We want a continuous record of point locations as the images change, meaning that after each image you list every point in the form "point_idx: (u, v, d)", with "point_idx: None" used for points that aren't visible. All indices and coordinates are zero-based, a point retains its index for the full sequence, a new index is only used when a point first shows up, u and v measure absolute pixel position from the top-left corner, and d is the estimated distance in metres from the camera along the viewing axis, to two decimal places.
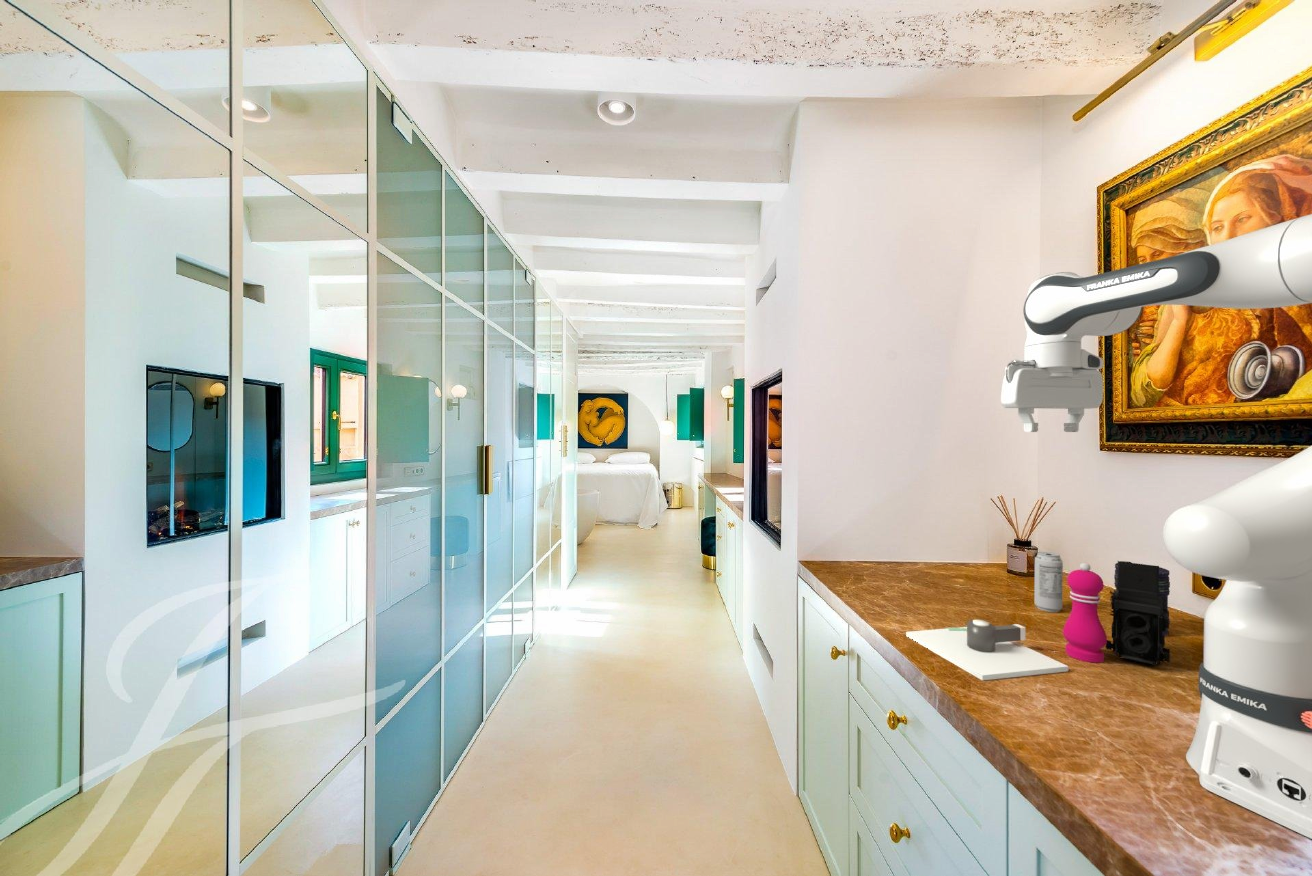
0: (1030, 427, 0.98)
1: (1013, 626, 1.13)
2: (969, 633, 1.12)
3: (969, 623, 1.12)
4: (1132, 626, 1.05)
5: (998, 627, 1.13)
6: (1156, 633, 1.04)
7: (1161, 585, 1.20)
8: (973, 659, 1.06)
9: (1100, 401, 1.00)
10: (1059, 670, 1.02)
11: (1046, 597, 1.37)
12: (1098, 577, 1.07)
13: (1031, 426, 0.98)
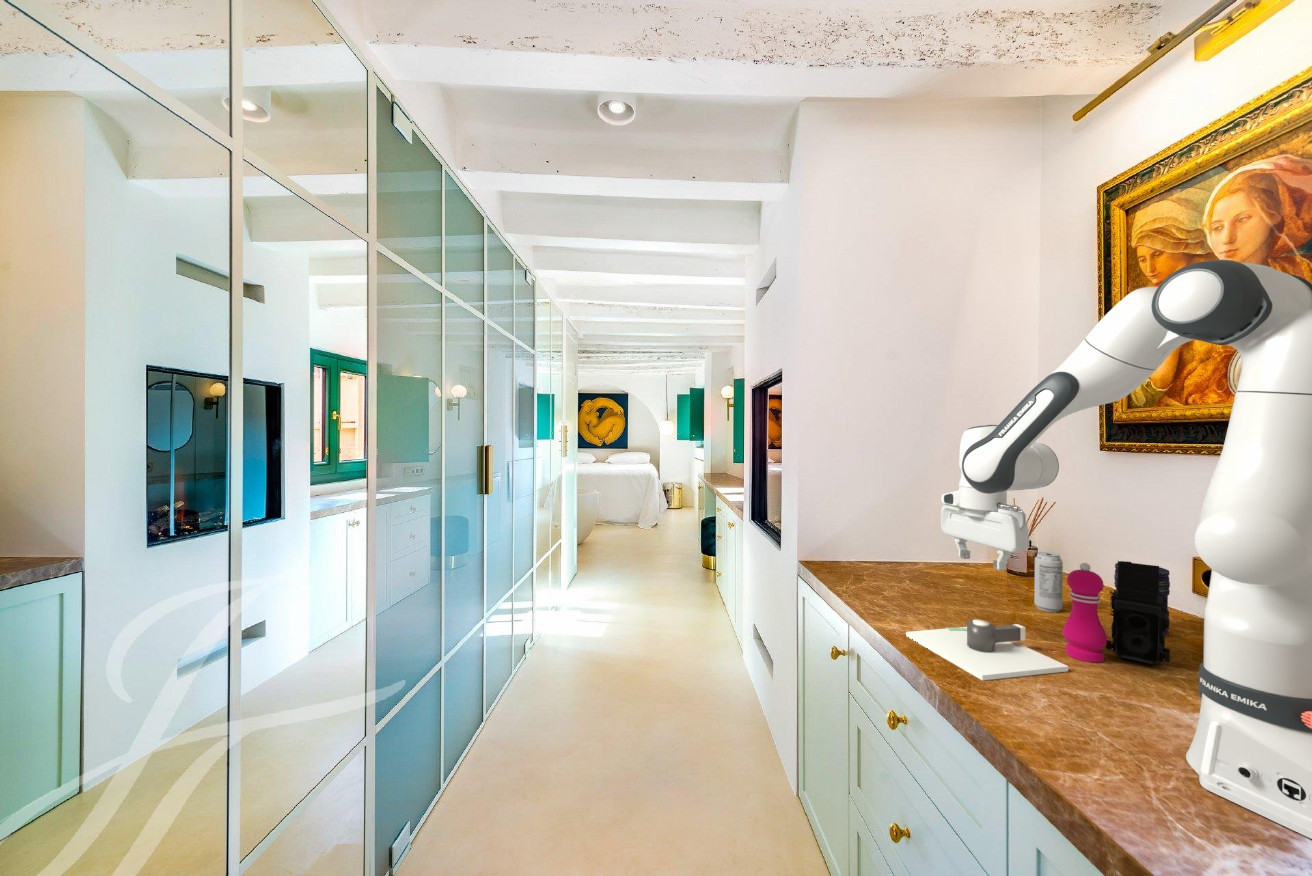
0: (1004, 566, 1.06)
1: (1013, 626, 1.13)
2: (969, 633, 1.12)
3: (969, 623, 1.12)
4: (1132, 626, 1.05)
5: (998, 627, 1.13)
6: (1156, 633, 1.04)
7: (1161, 585, 1.20)
8: (973, 659, 1.06)
9: None
10: (1059, 670, 1.02)
11: (1046, 597, 1.37)
12: (1098, 577, 1.07)
13: (1005, 564, 1.06)
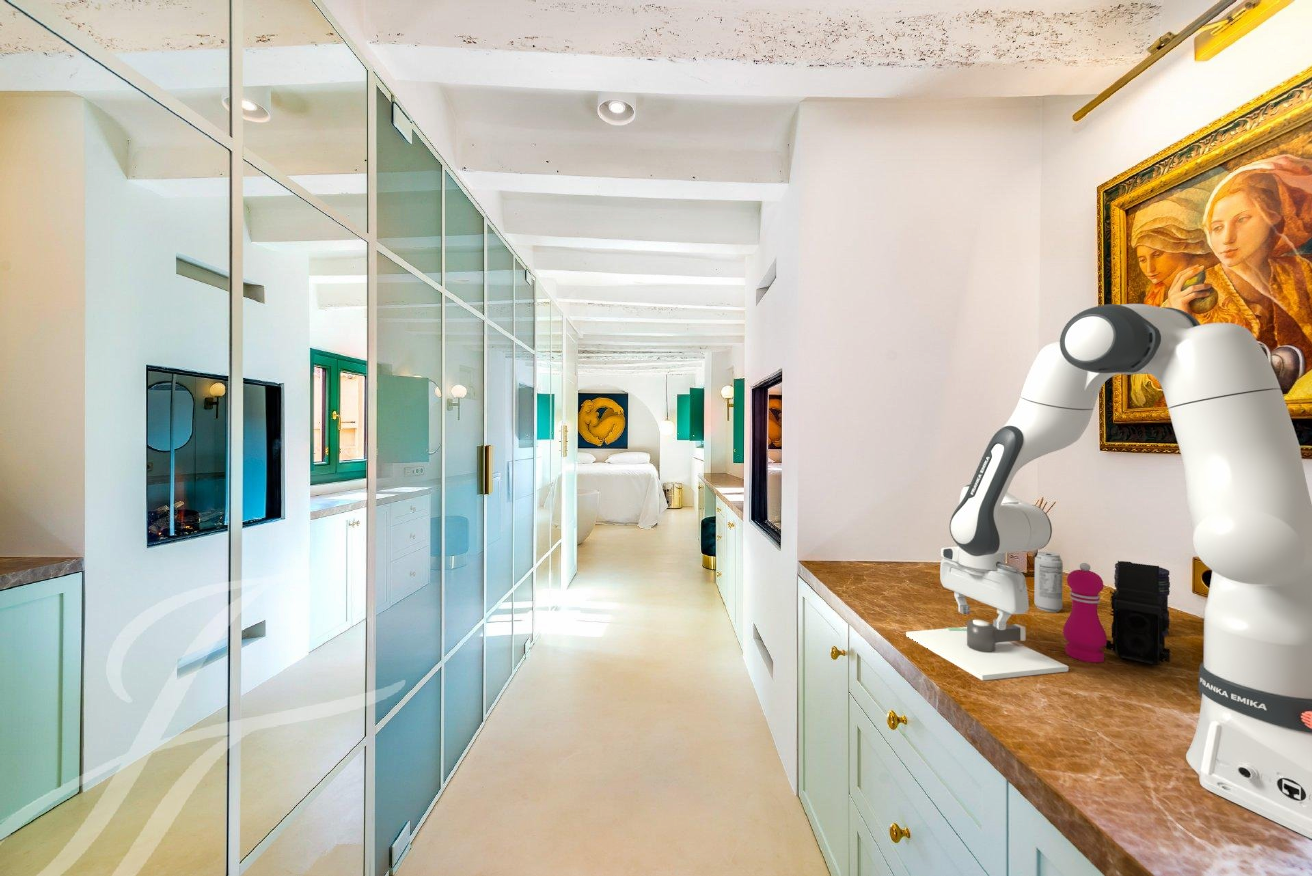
0: (1004, 625, 1.06)
1: (1013, 626, 1.13)
2: (969, 633, 1.12)
3: (969, 623, 1.12)
4: (1132, 626, 1.05)
5: None
6: (1156, 633, 1.04)
7: (1161, 585, 1.20)
8: (973, 659, 1.06)
9: None
10: (1059, 670, 1.02)
11: (1046, 597, 1.37)
12: (1098, 577, 1.07)
13: (1004, 624, 1.06)
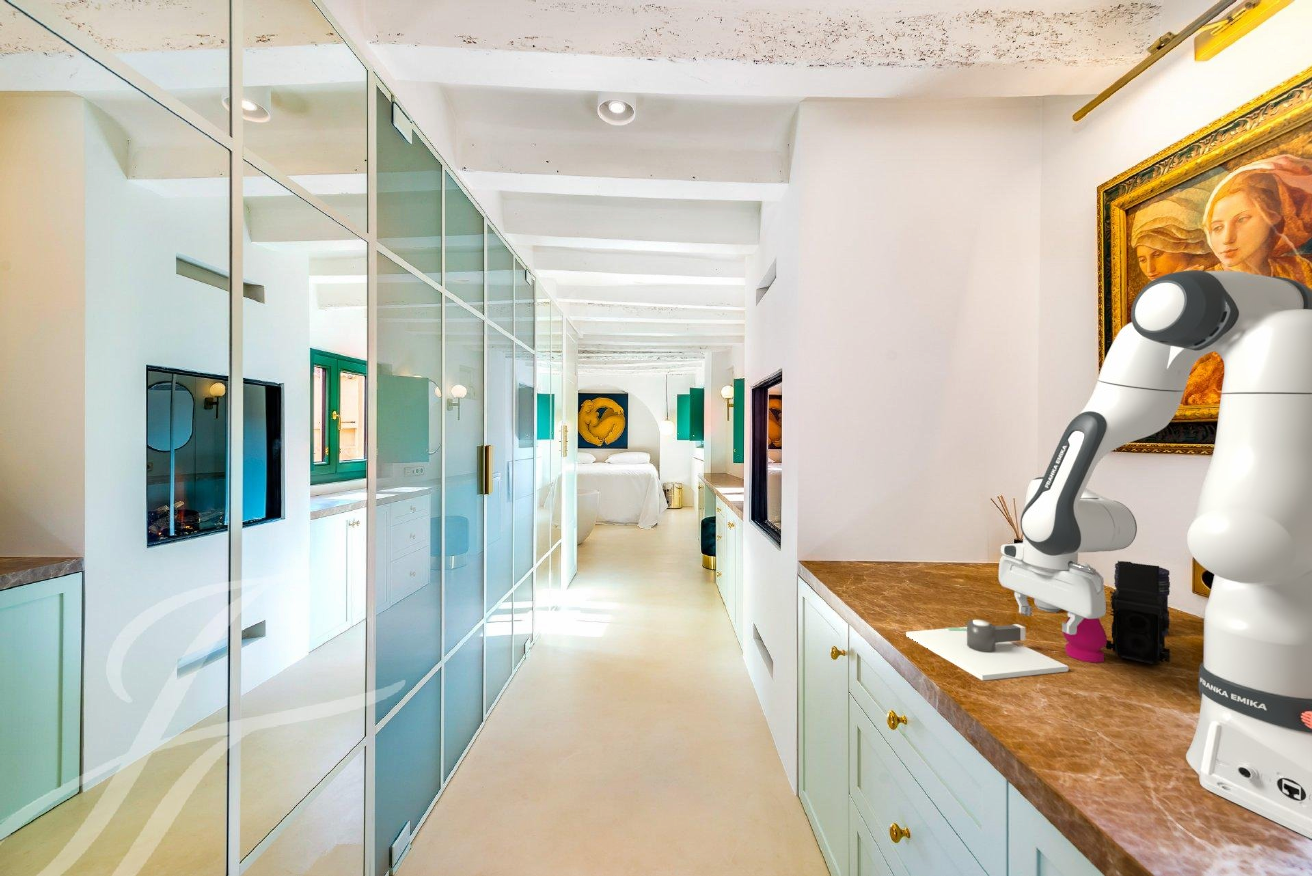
0: (1075, 629, 0.99)
1: (1013, 626, 1.13)
2: (969, 633, 1.12)
3: (969, 623, 1.12)
4: (1132, 626, 1.05)
5: (998, 627, 1.13)
6: (1156, 633, 1.04)
7: (1161, 585, 1.20)
8: (973, 659, 1.06)
9: None
10: (1059, 670, 1.02)
11: None
12: None
13: None
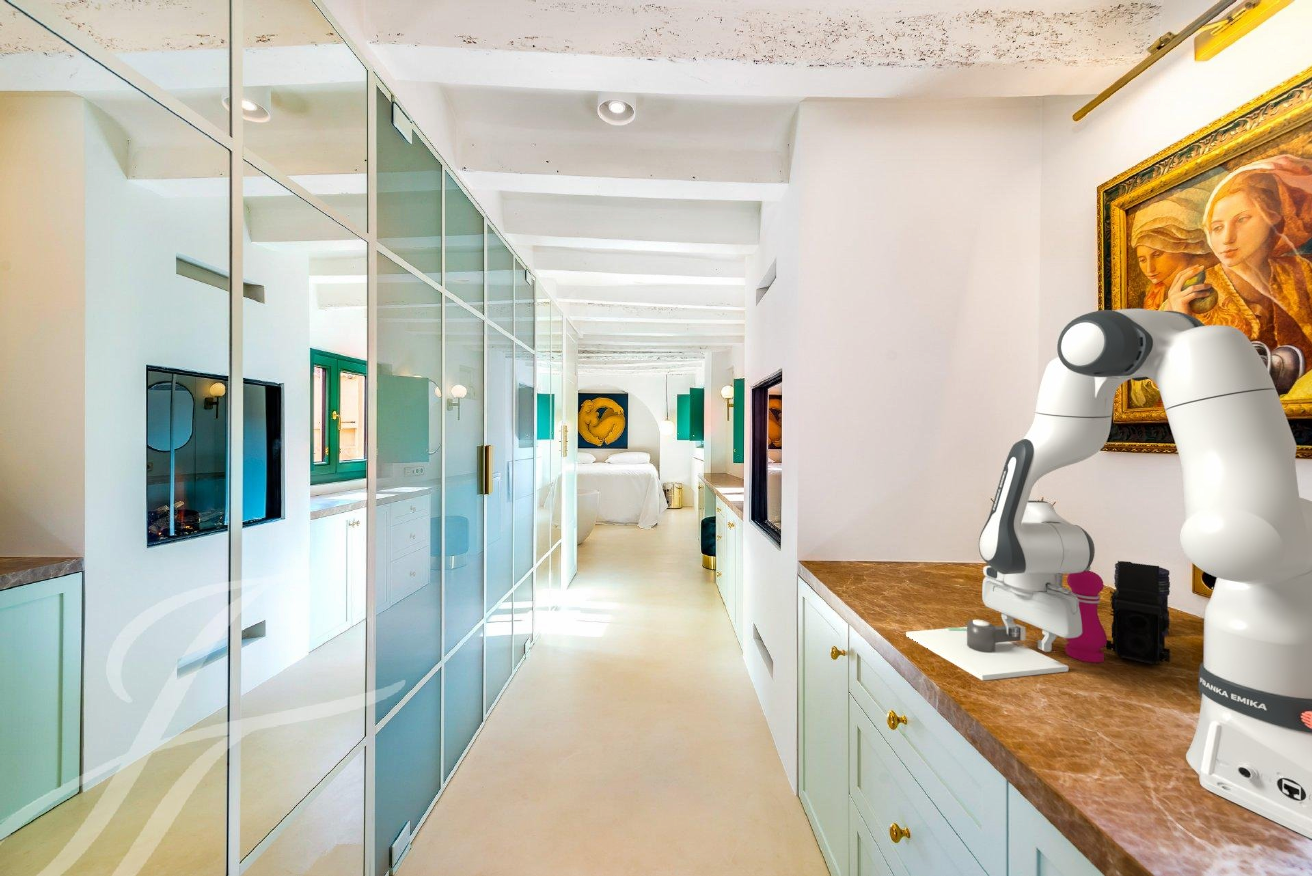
0: (1049, 646, 1.04)
1: None
2: (969, 633, 1.12)
3: (969, 623, 1.12)
4: (1132, 626, 1.05)
5: (998, 627, 1.13)
6: (1156, 633, 1.04)
7: (1161, 585, 1.20)
8: (973, 659, 1.06)
9: None
10: (1059, 670, 1.02)
11: None
12: (1098, 577, 1.07)
13: (1050, 645, 1.04)
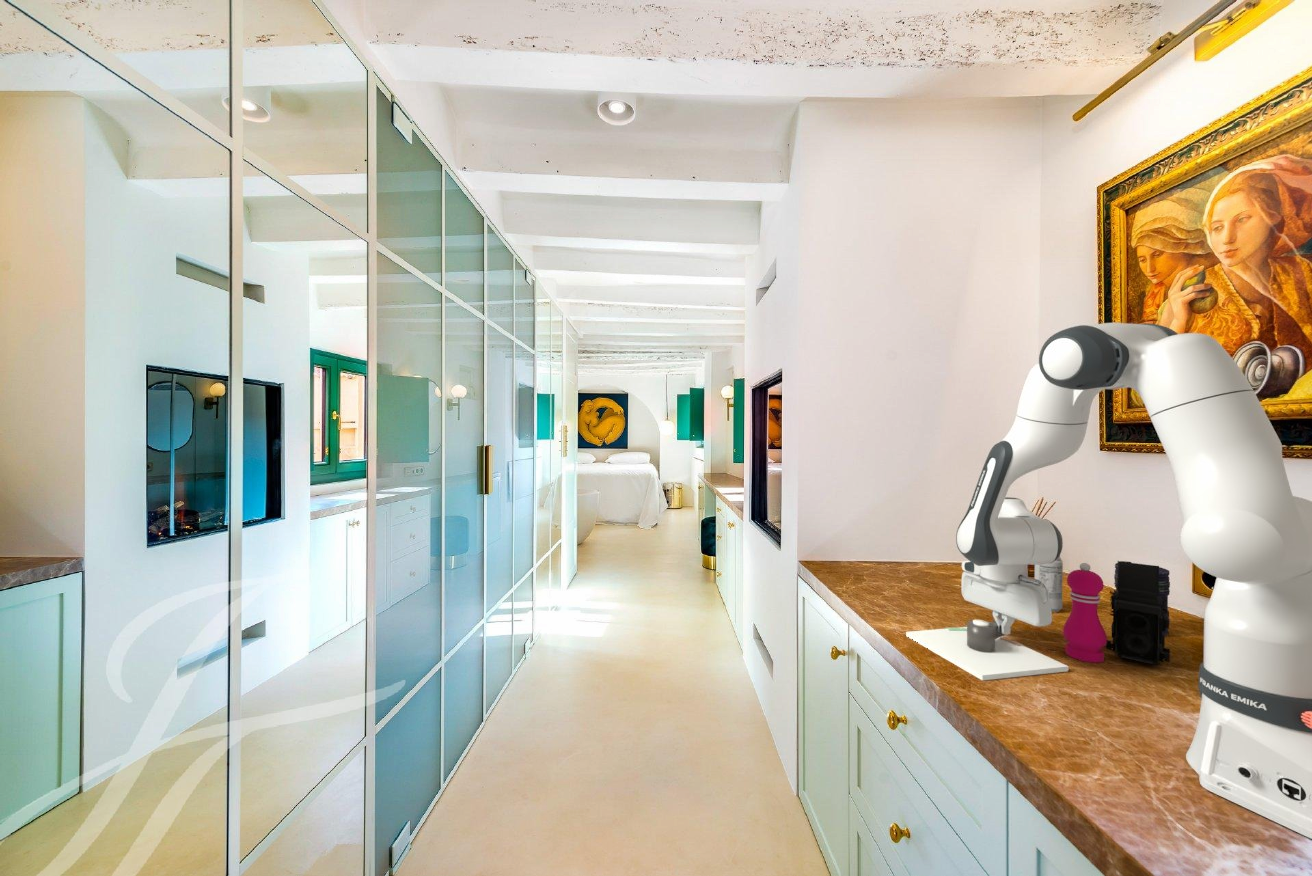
0: (1008, 630, 1.13)
1: None
2: (973, 635, 1.11)
3: (971, 624, 1.12)
4: (1132, 626, 1.05)
5: None
6: (1156, 633, 1.04)
7: (1161, 585, 1.20)
8: (973, 659, 1.06)
9: None
10: (1059, 670, 1.02)
11: None
12: (1098, 577, 1.07)
13: (1009, 629, 1.13)
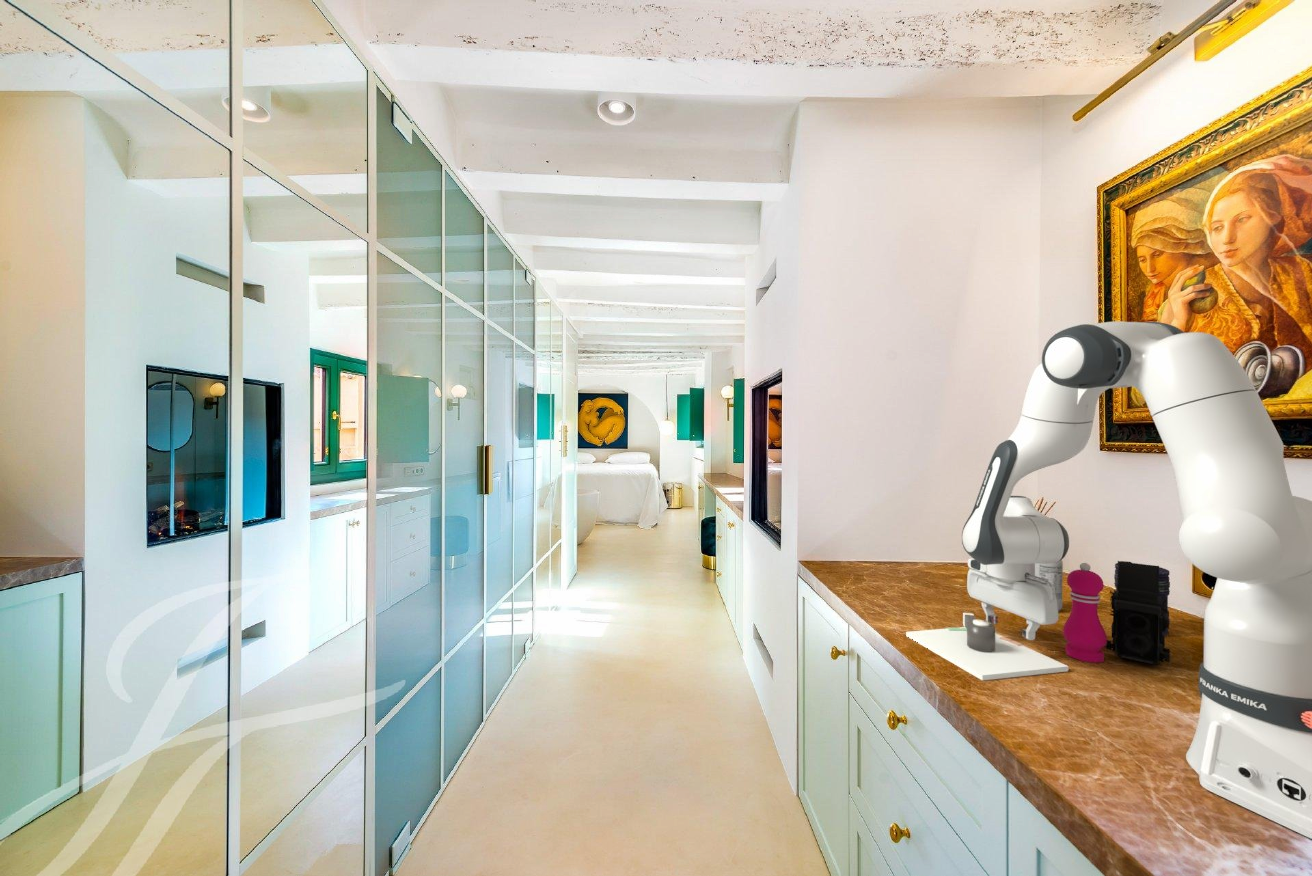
0: (1033, 635, 1.09)
1: (970, 616, 1.20)
2: (982, 637, 1.09)
3: (977, 627, 1.10)
4: (1132, 626, 1.05)
5: None
6: (1156, 633, 1.04)
7: (1161, 585, 1.20)
8: (973, 659, 1.06)
9: None
10: (1059, 670, 1.02)
11: None
12: (1098, 577, 1.07)
13: (1034, 634, 1.09)
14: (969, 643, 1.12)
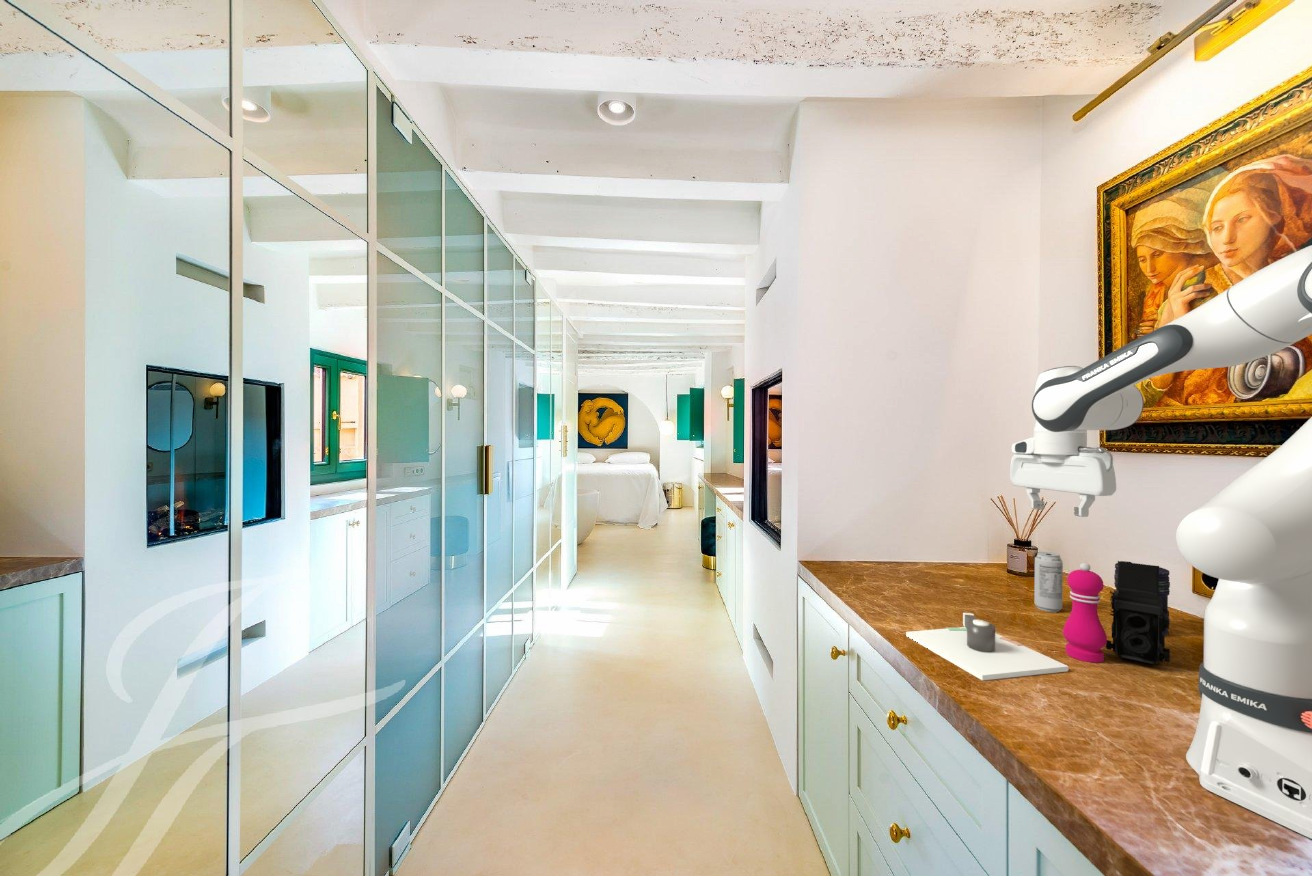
0: (1087, 512, 1.02)
1: (970, 616, 1.20)
2: (982, 637, 1.09)
3: (977, 627, 1.10)
4: (1132, 626, 1.05)
5: None
6: (1156, 633, 1.04)
7: (1161, 585, 1.20)
8: (973, 659, 1.06)
9: None
10: (1059, 670, 1.02)
11: (1046, 597, 1.37)
12: (1098, 577, 1.07)
13: (1087, 511, 1.02)
14: (969, 643, 1.12)
